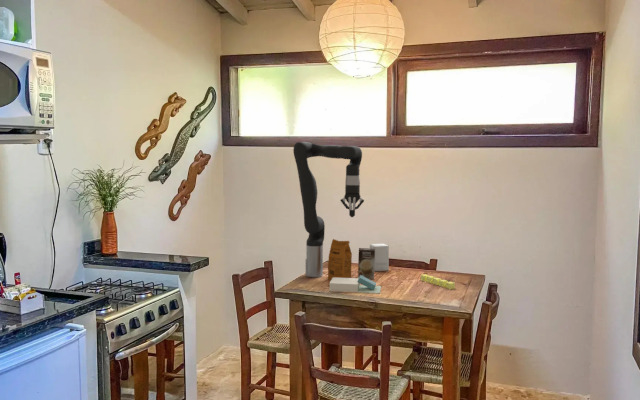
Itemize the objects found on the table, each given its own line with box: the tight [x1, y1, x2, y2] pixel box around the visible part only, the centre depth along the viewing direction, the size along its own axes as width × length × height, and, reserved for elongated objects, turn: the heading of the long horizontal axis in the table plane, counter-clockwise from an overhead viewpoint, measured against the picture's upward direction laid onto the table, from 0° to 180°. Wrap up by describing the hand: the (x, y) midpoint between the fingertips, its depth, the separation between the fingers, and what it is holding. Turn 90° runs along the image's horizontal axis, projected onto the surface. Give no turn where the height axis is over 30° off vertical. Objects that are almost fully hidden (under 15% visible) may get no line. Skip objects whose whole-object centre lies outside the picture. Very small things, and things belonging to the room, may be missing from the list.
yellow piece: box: [420, 273, 456, 290], centre depth 277 cm, size 32×32×3 cm
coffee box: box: [357, 247, 375, 280], centre depth 288 cm, size 9×6×16 cm
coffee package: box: [327, 238, 353, 281], centre depth 282 cm, size 10×12×22 cm
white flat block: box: [328, 277, 361, 293], centre depth 265 cm, size 14×13×4 cm
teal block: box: [357, 275, 377, 290], centre depth 263 cm, size 9×6×2 cm, turn 81°
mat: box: [357, 284, 382, 295], centre depth 263 cm, size 11×14×1 cm
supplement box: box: [369, 243, 390, 272], centre depth 310 cm, size 9×9×15 cm
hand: (352, 216), depth 276 cm, fingers closed
